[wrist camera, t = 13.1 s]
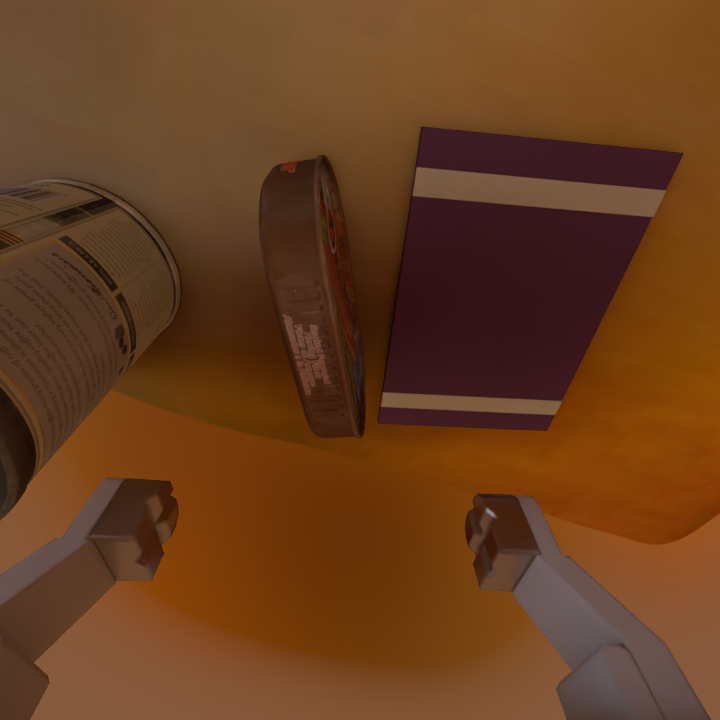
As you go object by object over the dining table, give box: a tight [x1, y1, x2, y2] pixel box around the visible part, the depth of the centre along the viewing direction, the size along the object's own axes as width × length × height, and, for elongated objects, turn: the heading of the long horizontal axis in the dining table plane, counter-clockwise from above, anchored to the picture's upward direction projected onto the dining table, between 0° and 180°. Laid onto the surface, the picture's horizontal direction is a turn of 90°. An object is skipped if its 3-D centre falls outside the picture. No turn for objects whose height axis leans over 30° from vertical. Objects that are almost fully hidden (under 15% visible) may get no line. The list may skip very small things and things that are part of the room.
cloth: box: [378, 127, 683, 431], centre depth 24 cm, size 14×20×1 cm
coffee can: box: [0, 179, 181, 520], centre depth 16 cm, size 10×10×14 cm
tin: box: [259, 155, 366, 438], centre depth 20 cm, size 15×3×8 cm, turn 7°
